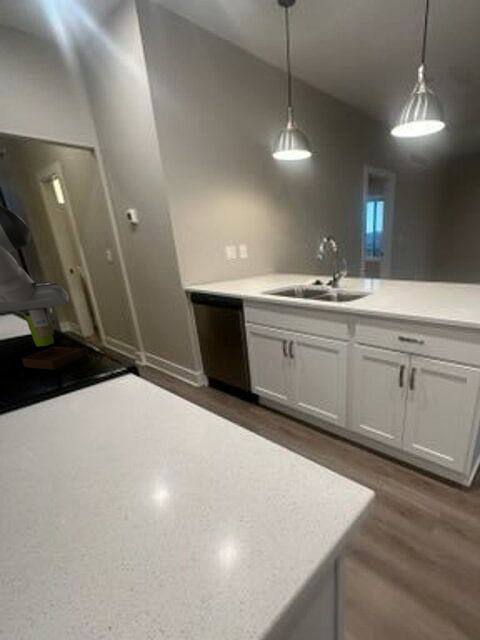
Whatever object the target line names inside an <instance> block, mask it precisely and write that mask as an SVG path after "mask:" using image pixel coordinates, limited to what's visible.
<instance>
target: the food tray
mask: <svg viewBox="0 0 480 640" xmlns="http://www.w3.org/2000/svg"><path fill="white" fill-rule="evenodd" d="M83 356H84V357H85V353H84V350H83V348H80V347H79V348H78V347H67V346H66V347H65V346H52V347H50V348H47V349H45V350H41V351H39V352H37V353H34V354H31V355H29V356H26V357H23V358H21V362H22V365H23V367H24V368H29V369H41V370H51V371H55V370H57V369H59V368H62V367H64V366H67V365H68V364H70V363H73V362H75V361H78V360H80V359H81V358H84V357H83Z"/></svg>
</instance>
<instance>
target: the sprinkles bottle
mask: <svg viewBox="0 0 480 640" xmlns="http://www.w3.org/2000/svg"><path fill="white" fill-rule="evenodd" d="M28 311H29V314H30V317H31V319H32V322H33V325H34V327H35V329H36V332H37V336H38V337H47V336H51V335H52V336H54V335H55V330H54V329H53V326H52V321H51V320H50V316H49V313H47V314H46V312H44V307H42V308H34V309H28Z"/></svg>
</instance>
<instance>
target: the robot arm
mask: <svg viewBox="0 0 480 640" xmlns="http://www.w3.org/2000/svg"><path fill="white" fill-rule="evenodd" d="M26 223H27V222H25V220H23V219H22V218H21V217H20V216H19V215H17V214H16V213H14V212H13V211H12V210H10V209H8V208H7V207H5V206H3V205H2V204H0V313H5V312H16V313H19V314H22V315H23V316H24V317H25V316H30V314H29V311H28V309H34V308H42V307H44V312H46V314H53V308H52V307H59V306H66V305H68V304H69V294H68V292H67V291H66V290H65V289H64V288H63V287H62V285H61V284H60V283H58V282H57V283H56V282H53V281H46V282H45V281H44V282H35V281H34V280H33V279H32V278H31V277H30V275H29V274H28V273H27V272H26V271H25V269H23V268H22V267H21V266H20V265H19V263H18V262H17V259H15V258H14V256H13V255H12V252H14V251H15V250H20V249H22V248H25V247H27V246H29V243H30V241H31V237H32V231H31V229H30V227H29V226H28V225H27V224H26Z"/></svg>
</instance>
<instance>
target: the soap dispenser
mask: <svg viewBox="0 0 480 640" xmlns="http://www.w3.org/2000/svg"><path fill="white" fill-rule="evenodd" d="M24 318H25V321H26V323H27V326H28V329H29V331H30V334H31V336H32V340H33V342H34V345H35V347H46V346H50V345H53V344H54V343H55V340H54V337H53V336H54V335H51V336H47V337H38V336H37V332H36V329H35V327H34V325H33V322H32V319H31V317H30V316H25V315H24Z"/></svg>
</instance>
